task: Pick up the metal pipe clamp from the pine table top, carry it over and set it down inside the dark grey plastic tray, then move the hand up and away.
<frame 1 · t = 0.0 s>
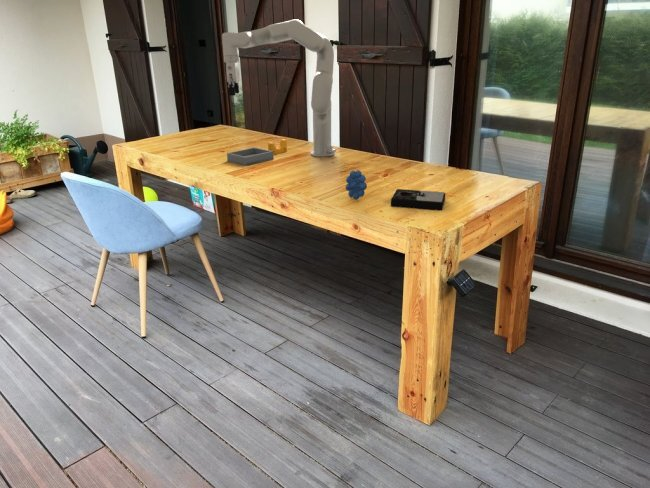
hand: (234, 94, 272), 31 cm above the table, tool pointing down, fingers open, 9 cm apart
grapes: (357, 199, 209), on the table
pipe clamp: (276, 153, 287), on the table
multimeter: (418, 204, 203), on the table
tray: (250, 159, 271), on the table
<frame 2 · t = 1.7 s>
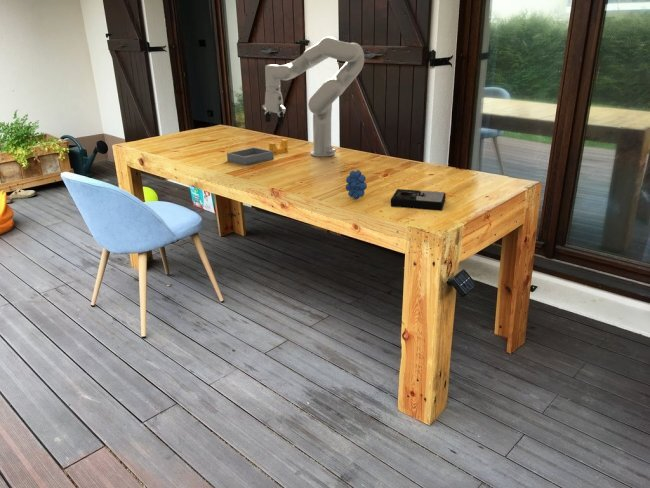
hand: (274, 123, 280), 16 cm above the table, tool pointing down, fingers open, 9 cm apart
nothing on the table moved.
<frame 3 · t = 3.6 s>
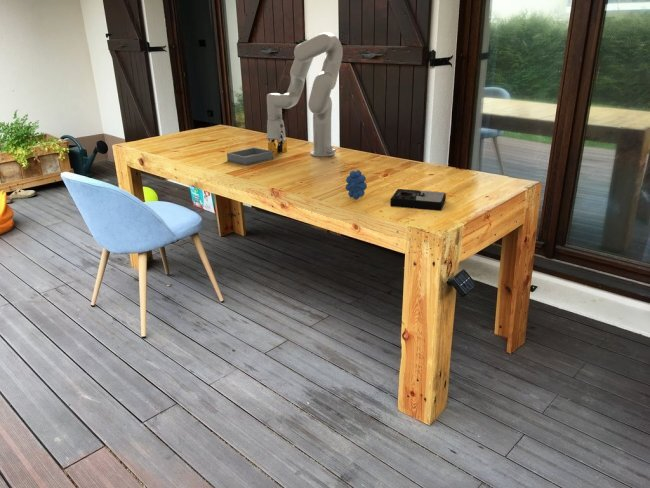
hand: (276, 151, 286), 1 cm above the table, tool pointing down, fingers closed on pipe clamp, 4 cm apart
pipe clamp: (276, 153, 286), on the table, touching gripper
everything else where it was.
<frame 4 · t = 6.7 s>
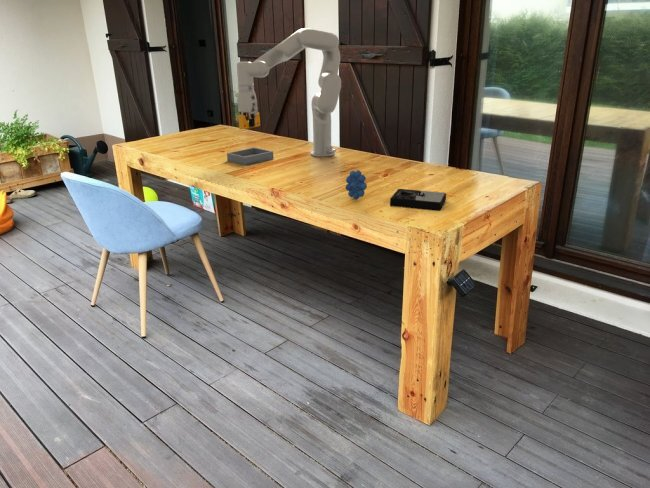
hand: (248, 125, 265), 17 cm above the table, tool pointing down, fingers closed on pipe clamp, 4 cm apart
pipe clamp: (248, 127, 265), point 16 cm above the table, touching gripper
everything else where it was.
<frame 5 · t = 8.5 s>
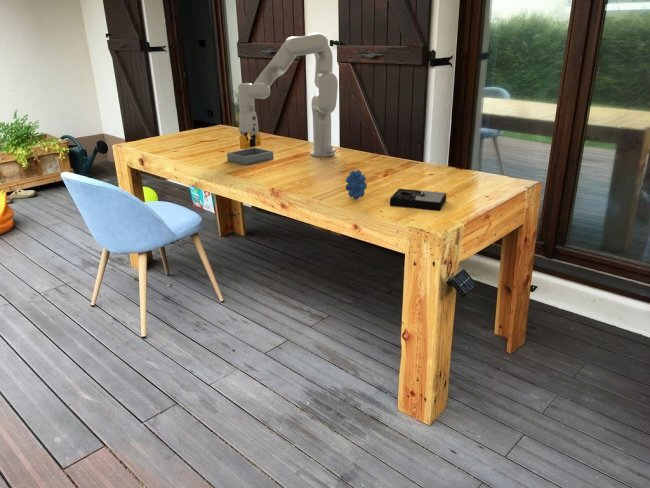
hand: (249, 145, 269), 7 cm above the table, tool pointing down, fingers closed on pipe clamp, 4 cm apart
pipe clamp: (249, 147, 269), point 7 cm above the table, touching gripper
everything else where it was.
when the fingers open (4 cm above the table, at t = 10.1 s): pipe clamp drops 2 cm, resting on tray.
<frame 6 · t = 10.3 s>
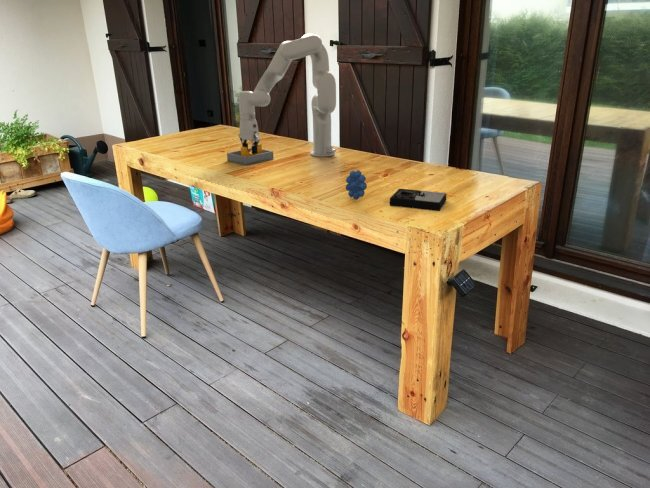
hand: (250, 152, 270), 4 cm above the table, tool pointing down, fingers open, 6 cm apart
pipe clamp: (250, 158, 271), point 1 cm above the table, touching tray
everything else where it was.
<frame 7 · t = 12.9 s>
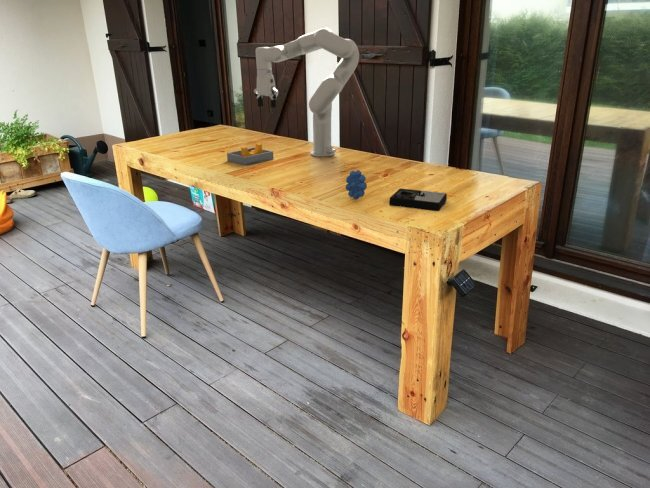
hand: (267, 106, 277), 24 cm above the table, tool pointing down, fingers open, 9 cm apart
nothing on the table moved.
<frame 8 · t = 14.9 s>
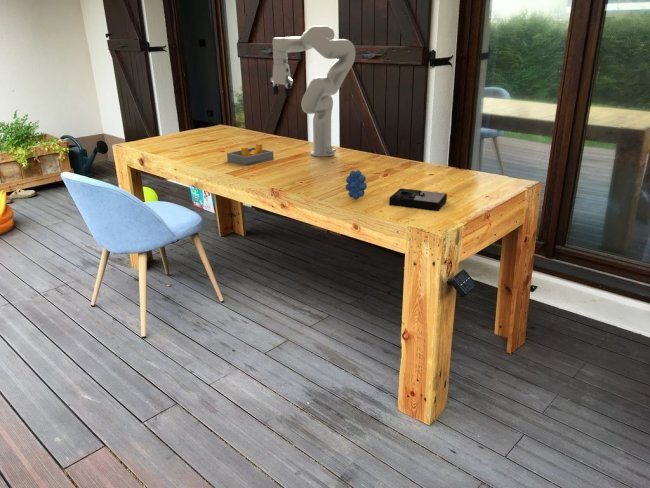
hand: (282, 95, 289), 28 cm above the table, tool pointing down, fingers open, 9 cm apart
nothing on the table moved.
at the end: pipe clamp inside the target area on the tray (0.6 cm from its centre), point 0.8 cm above the tray's base; the gripper is holding nothing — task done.
